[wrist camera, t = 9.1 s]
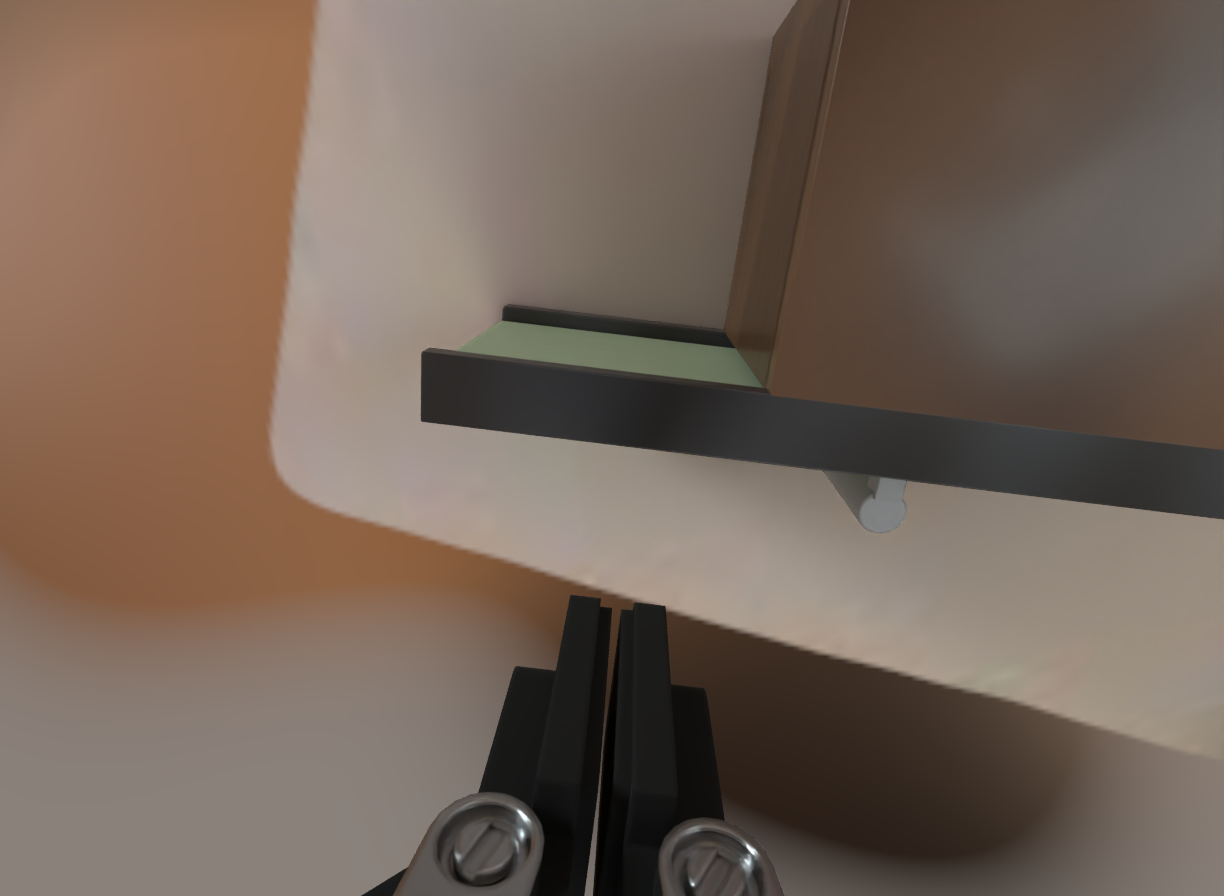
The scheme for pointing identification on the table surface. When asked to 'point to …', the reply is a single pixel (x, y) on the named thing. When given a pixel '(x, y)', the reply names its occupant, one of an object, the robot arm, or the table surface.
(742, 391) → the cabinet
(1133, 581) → the table surface
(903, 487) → the pale green block
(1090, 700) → the table surface
